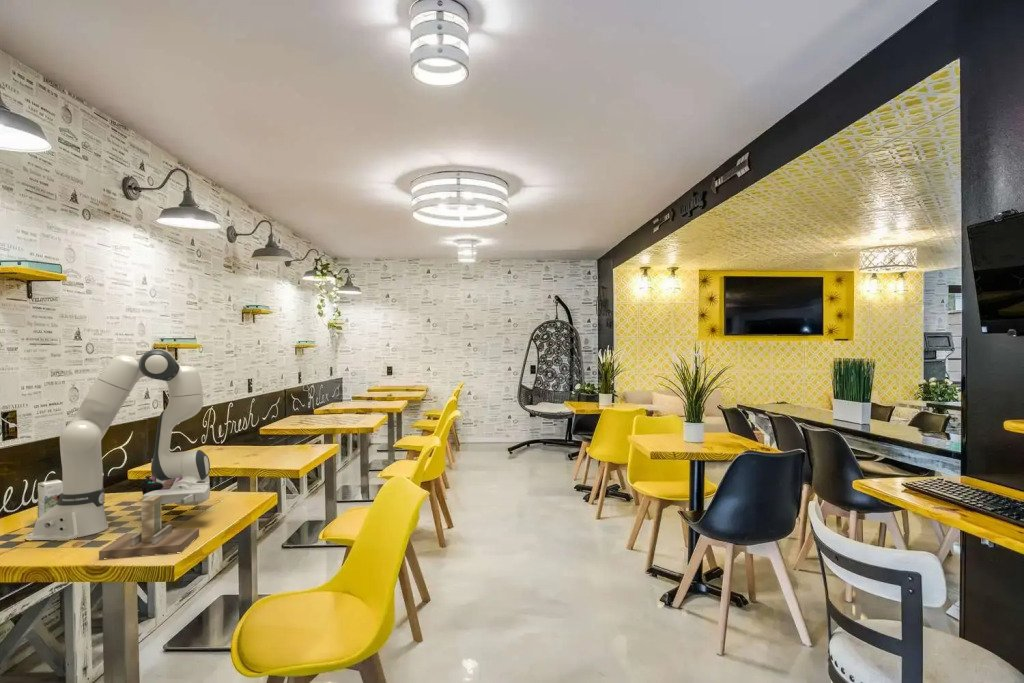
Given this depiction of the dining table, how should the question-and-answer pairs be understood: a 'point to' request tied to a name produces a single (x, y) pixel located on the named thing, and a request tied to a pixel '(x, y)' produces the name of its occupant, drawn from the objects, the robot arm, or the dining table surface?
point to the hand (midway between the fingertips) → (167, 502)
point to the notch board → (150, 543)
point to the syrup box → (48, 495)
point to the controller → (150, 485)
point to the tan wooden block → (150, 517)
